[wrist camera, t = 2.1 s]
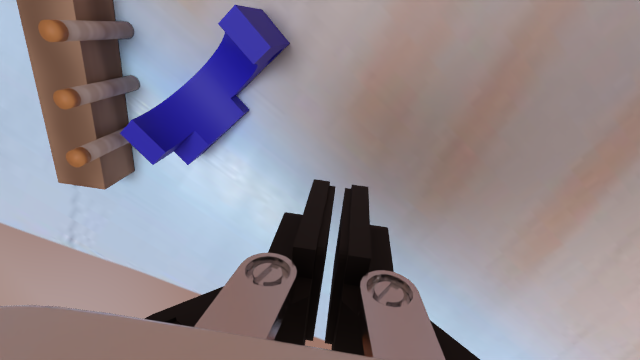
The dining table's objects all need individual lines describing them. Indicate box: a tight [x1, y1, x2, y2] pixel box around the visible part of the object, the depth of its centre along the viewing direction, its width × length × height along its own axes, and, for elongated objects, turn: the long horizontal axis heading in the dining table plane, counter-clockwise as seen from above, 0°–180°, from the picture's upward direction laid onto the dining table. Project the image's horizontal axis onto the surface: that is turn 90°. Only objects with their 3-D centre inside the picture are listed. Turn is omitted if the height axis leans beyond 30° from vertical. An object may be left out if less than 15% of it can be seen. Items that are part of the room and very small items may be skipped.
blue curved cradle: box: [120, 5, 290, 165], centre depth 25 cm, size 12×4×6 cm, turn 131°
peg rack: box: [16, 0, 139, 189], centre depth 25 cm, size 5×16×7 cm, turn 174°
